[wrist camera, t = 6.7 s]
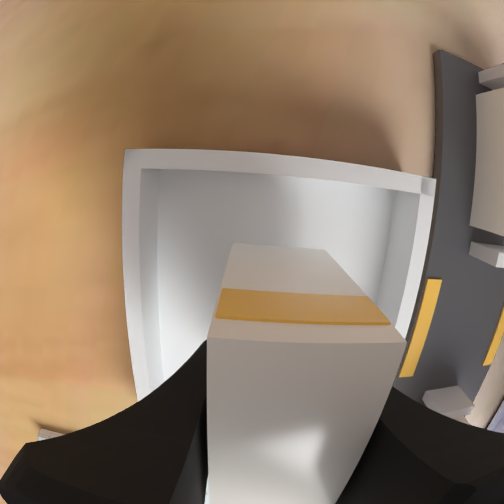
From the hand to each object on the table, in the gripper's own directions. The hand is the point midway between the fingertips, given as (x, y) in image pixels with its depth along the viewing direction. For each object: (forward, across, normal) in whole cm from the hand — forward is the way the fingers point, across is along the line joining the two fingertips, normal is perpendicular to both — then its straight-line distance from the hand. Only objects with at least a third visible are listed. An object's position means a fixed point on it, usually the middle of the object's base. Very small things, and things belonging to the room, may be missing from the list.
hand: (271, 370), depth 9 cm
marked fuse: (+2, 0, -1) cm, 2 cm away
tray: (+3, 0, 0) cm, 3 cm away
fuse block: (+3, -10, 0) cm, 11 cm away
